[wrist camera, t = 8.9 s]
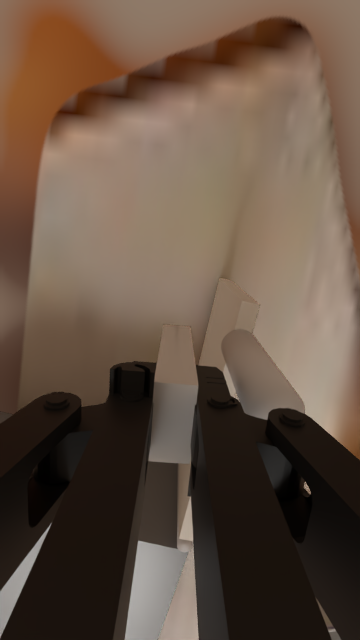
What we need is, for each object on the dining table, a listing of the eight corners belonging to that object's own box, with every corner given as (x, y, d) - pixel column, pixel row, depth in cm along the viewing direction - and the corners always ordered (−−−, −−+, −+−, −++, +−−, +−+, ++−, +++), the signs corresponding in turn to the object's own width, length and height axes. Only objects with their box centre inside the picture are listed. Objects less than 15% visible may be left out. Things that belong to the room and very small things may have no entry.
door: (171, 451, 31) (162, 695, 15) (213, 276, 27) (267, 339, 10) (192, 455, 31) (206, 701, 15) (237, 281, 27) (326, 351, 11)
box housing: (151, 564, 35) (140, 690, 25) (-19, 529, 34) (-98, 647, 24) (185, 454, 32) (188, 551, 22) (-1, 411, 30) (-86, 492, 21)
